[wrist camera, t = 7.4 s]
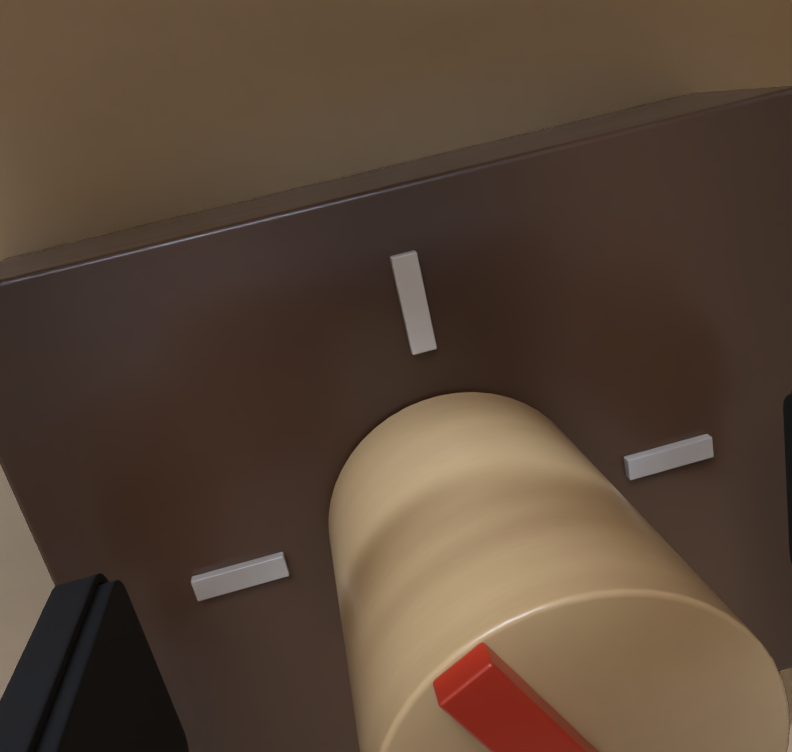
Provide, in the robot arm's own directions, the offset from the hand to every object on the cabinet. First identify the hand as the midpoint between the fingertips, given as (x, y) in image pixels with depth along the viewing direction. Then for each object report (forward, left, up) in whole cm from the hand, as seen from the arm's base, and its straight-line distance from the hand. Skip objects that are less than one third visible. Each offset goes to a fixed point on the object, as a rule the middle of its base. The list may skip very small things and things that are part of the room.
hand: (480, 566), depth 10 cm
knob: (0, 0, -1) cm, 1 cm away
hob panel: (0, 0, -4) cm, 4 cm away
